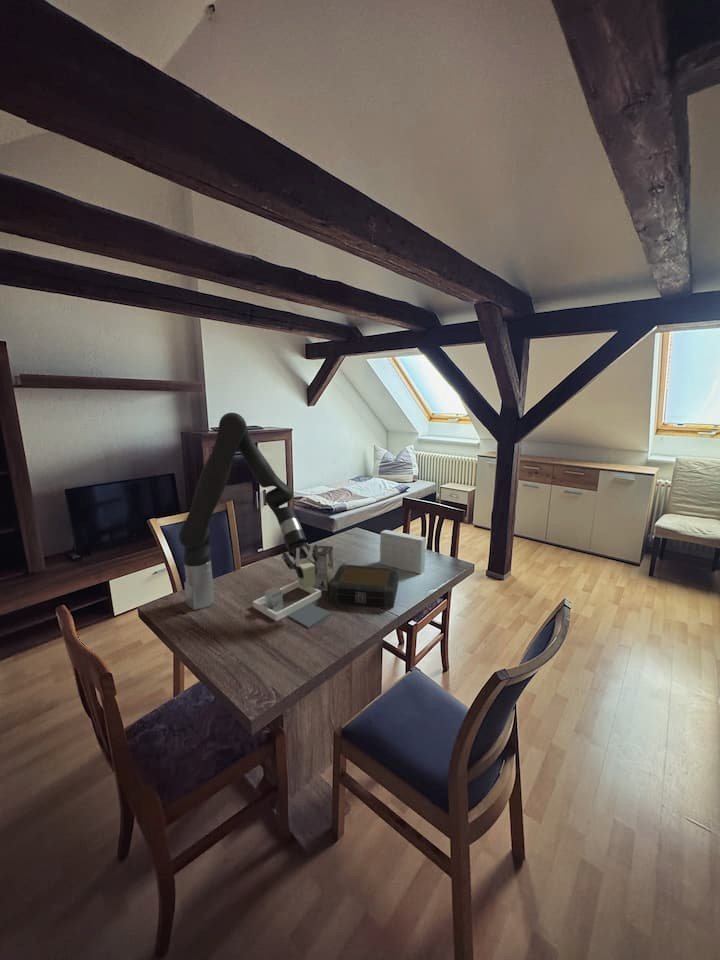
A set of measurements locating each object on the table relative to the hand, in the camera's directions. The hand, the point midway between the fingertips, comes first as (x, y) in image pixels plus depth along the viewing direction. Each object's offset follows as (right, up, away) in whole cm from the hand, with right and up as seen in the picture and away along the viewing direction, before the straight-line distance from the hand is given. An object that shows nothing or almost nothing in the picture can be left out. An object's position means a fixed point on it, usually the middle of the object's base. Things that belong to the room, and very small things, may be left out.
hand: (308, 575), depth 133 cm
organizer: (-10, -14, +14) cm, 22 cm away
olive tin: (-1, -4, +2) cm, 5 cm away
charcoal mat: (0, -16, +4) cm, 16 cm away
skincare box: (+37, -7, +44) cm, 58 cm away
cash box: (+20, -13, +20) cm, 31 cm away
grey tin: (-14, -15, +9) cm, 22 cm away
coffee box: (+3, -11, +27) cm, 29 cm away
